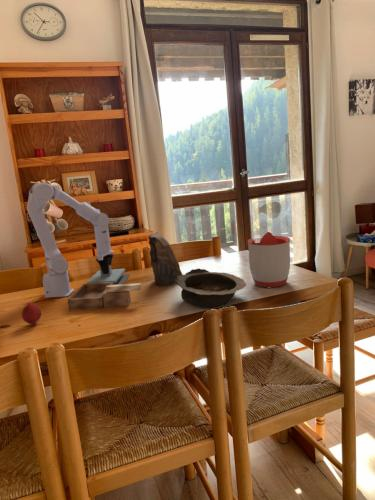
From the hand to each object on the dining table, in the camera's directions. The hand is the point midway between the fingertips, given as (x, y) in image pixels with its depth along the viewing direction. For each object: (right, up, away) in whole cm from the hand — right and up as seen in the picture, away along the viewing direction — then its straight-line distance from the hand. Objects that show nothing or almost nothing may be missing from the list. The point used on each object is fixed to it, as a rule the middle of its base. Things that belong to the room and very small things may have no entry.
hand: (107, 272), depth 167 cm
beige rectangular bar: (+12, -5, -28) cm, 31 cm away
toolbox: (+4, -9, -21) cm, 23 cm away
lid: (0, -2, +1) cm, 2 cm away
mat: (0, -4, +1) cm, 4 cm away
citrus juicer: (+65, -3, -16) cm, 67 cm away
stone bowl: (+43, -8, -29) cm, 52 cm away
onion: (-16, -15, -39) cm, 44 cm away
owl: (+26, -4, -5) cm, 27 cm away
